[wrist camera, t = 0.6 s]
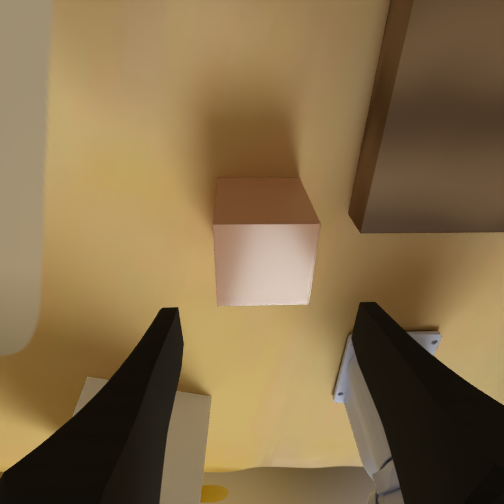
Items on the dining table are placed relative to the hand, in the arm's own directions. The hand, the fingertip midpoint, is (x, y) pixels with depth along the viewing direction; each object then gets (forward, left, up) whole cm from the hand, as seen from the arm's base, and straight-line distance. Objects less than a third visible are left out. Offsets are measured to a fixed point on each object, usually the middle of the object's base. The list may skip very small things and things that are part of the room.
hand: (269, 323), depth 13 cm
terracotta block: (0, 0, -10) cm, 10 cm away
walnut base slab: (+6, -12, -10) cm, 17 cm away
